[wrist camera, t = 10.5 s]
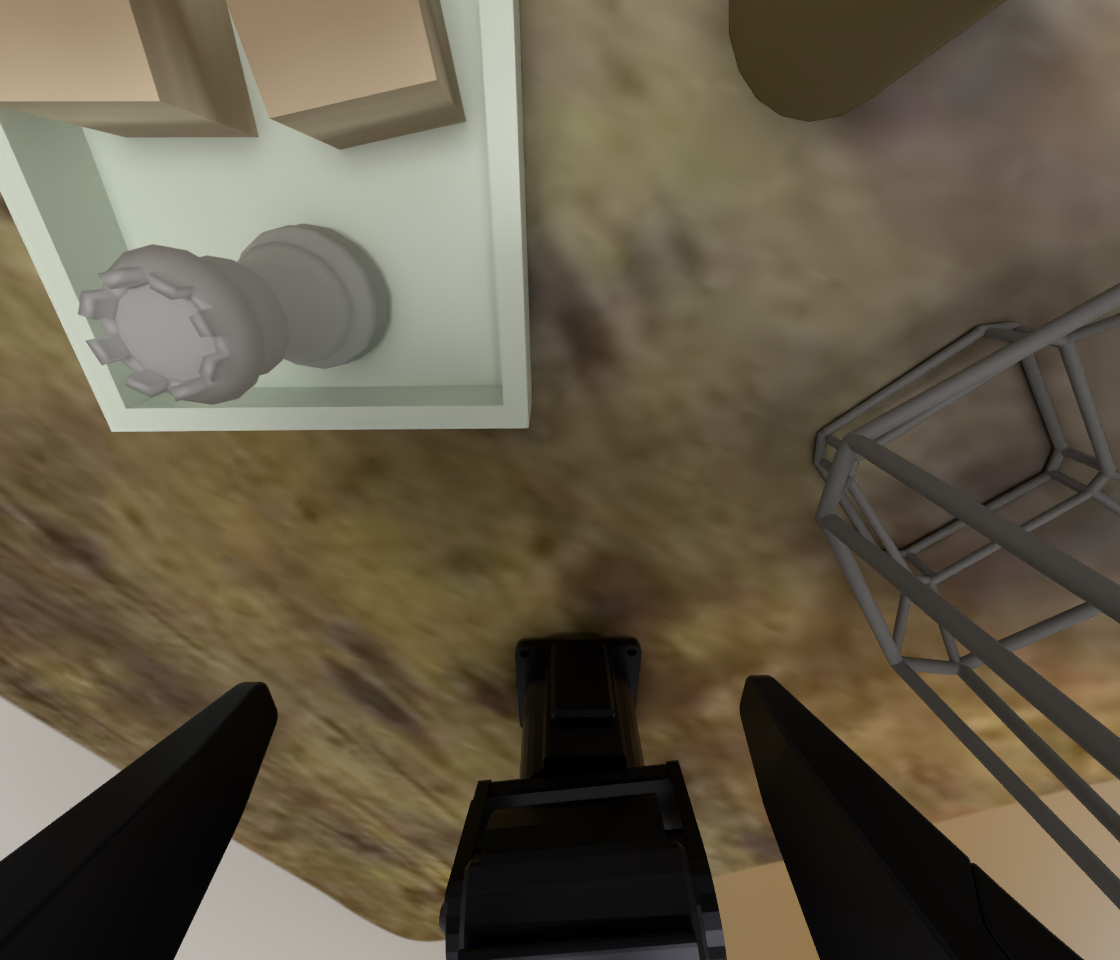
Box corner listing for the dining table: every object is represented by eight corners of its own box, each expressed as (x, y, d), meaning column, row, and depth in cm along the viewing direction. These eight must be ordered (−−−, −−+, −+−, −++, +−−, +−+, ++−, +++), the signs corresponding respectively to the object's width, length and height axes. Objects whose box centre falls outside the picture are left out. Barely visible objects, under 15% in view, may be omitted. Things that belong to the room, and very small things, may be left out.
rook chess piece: (348, 386, 18) (209, 483, 11) (236, 300, 16) (-12, 344, 9) (418, 294, 16) (312, 333, 9) (301, 190, 15) (68, 140, 8)
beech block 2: (466, 121, 14) (436, 79, 11) (339, 149, 14) (269, 118, 11) (425, -65, 12) (373, -191, 9) (282, -28, 13) (174, -136, 9)
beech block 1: (259, 137, 14) (160, 101, 11) (125, 137, 14) (-19, 101, 11) (214, -48, 12) (76, -167, 9) (61, -48, 12) (-138, -167, 9)
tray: (532, 400, 19) (528, 428, 16) (178, 403, 18) (111, 431, 16) (516, -114, 12) (505, -218, 10) (-23, -116, 12) (-192, -223, 9)
